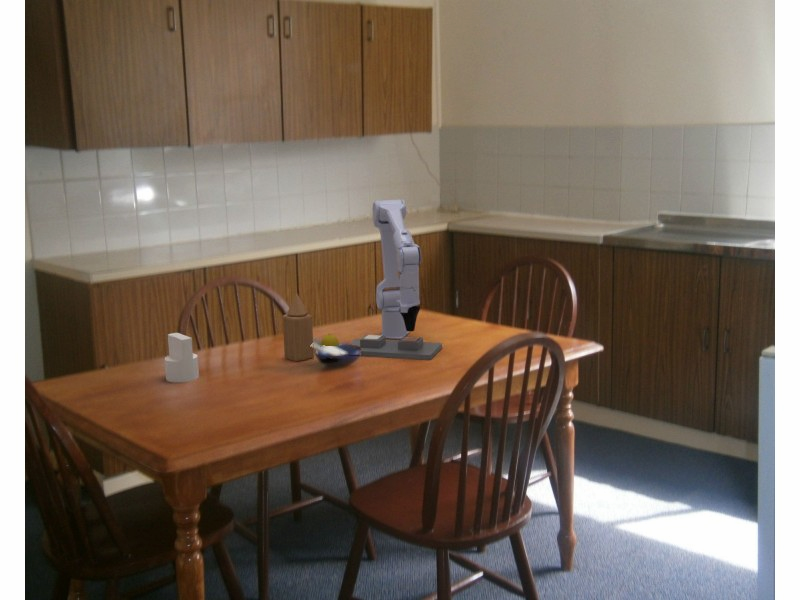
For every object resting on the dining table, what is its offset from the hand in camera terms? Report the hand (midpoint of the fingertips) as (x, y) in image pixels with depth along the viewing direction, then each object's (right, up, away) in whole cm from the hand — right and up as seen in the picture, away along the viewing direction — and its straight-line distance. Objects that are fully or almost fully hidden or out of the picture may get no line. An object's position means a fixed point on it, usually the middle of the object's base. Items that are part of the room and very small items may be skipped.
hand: (410, 330), depth 274 cm
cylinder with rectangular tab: (-64, -13, -19) cm, 68 cm away
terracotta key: (0, -4, +1) cm, 4 cm away
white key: (-11, -4, +4) cm, 13 cm away
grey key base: (-6, -6, +3) cm, 9 cm away
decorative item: (-33, -8, -2) cm, 34 cm away
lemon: (-24, -9, -5) cm, 26 cm away
